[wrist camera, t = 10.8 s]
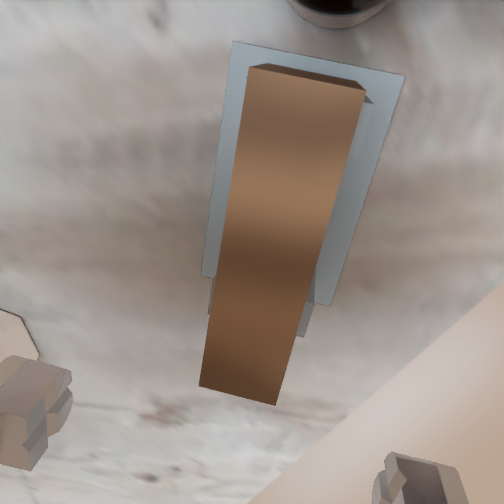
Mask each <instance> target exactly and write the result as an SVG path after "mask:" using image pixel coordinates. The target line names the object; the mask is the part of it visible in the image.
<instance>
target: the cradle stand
mask: <svg viewBox="0 0 504 504" xmlns="http://www.w3.org/2000/svg"><path fill="white" fill-rule="evenodd" d="M265 63H270V64H275V65H280V66H285V67H290V68H295V69H300V70H305V71H310V72H314V73H319V74H324V75H329V76H334V77H339V78H344V79H349V80H354V81H357V82H358V83H359V84H360V85H361V86H362V87H363V88H364V89H365V90H366V91H367V92H366V95H365V98H364V102H363V105H362V109H361V112H360V116H359V119H358V123H357V126H356V130H355V133H354V136H353V140H352V143H351V147H350V150H349V154H348V157H347V161H346V164H345V167H344V171H343V174H342V178H341V181H340V185H339V188H338V192H337V195H336V199H335V202H334V205H333V209H332V212H331V216H330V219H329V223H328V226H327V230H326V233H325V237H324V240H323V243H322V247H321V250H320V254H319V257H318V261H317V264H316V268H315V271H314V275H313V278H312V281H311V285H310V288H309V292H308V295H307V299H306V302H305V306H304V309H303V312H302V316H301V319H300V323H299V326H298V330H297V333H296V336H300V337H304V336H305V333H306V329H307V326H308V323H309V319H310V316H311V313H312V309H313V306H314V303H318V304H322V305H326V306H330V305H331V302H332V299H333V296H334V293H335V290H336V287H337V284H338V281H339V278H340V274H341V271H342V268H343V265H344V262H345V259H346V256H347V253H348V250H349V247H350V244H351V241H352V238H353V235H354V232H355V229H356V225H357V222H358V219H359V216H360V213H361V210H362V207H363V204H364V201H365V198H366V195H367V192H368V189H369V186H370V183H371V180H372V176H373V173H374V170H375V167H376V164H377V161H378V158H379V155H380V152H381V149H382V146H383V143H384V140H385V137H386V134H387V131H388V127H389V124H390V121H391V118H392V115H393V112H394V109H395V106H396V103H397V100H398V97H399V94H400V91H401V88H402V85H403V81H404V78H405V76H403V75H399V74H394V73H389V72H384V71H379V70H374V69H369V68H364V67H359V66H354V65H349V64H344V63H339V62H334V61H329V60H324V59H319V58H314V57H309V56H304V55H299V54H294V53H289V52H284V51H279V50H274V49H269V48H264V47H259V46H254V45H250V44H245V43H240V42H234V41H232V48H231V55H230V63H229V70H228V77H227V85H226V92H225V99H224V107H223V114H222V121H221V129H220V136H219V143H218V151H217V158H216V165H215V173H214V180H213V187H212V195H211V202H210V210H209V217H208V224H207V232H206V239H205V246H204V254H203V261H202V268H201V276H205V277H209V278H214V279H213V283H212V290H211V296H210V303H209V309H208V314H210V311H211V305H212V298H213V292H214V285H215V279H216V273H217V266H218V260H219V254H220V247H221V241H222V235H223V228H224V222H225V216H226V209H227V203H228V196H229V190H230V184H231V177H232V171H233V165H234V158H235V152H236V146H237V139H238V133H239V127H240V120H241V114H242V107H243V101H244V95H245V88H246V82H247V76H248V69H249V67H251V66H255V65H260V64H265Z"/></svg>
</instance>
